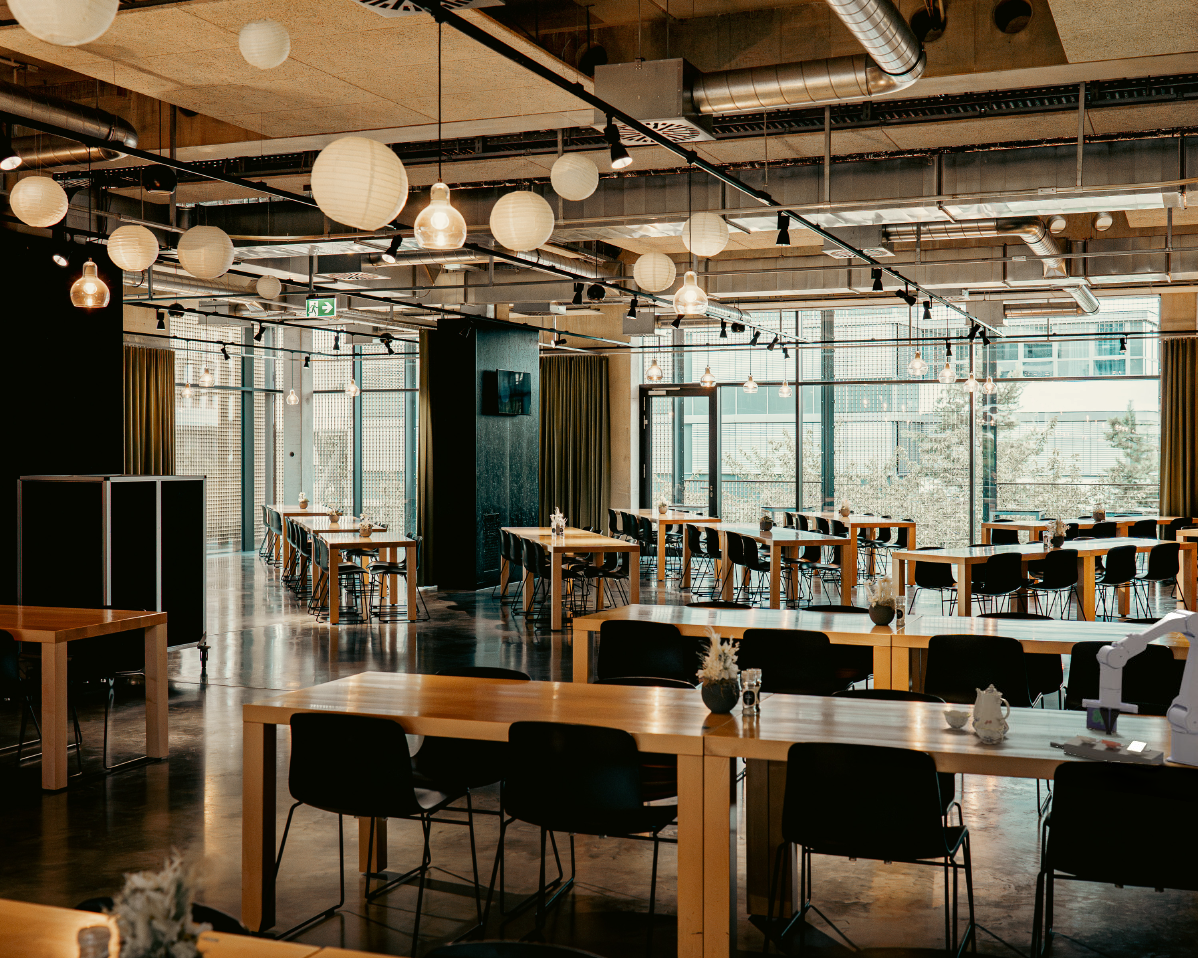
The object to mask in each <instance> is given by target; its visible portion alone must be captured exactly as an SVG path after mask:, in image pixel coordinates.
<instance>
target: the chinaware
mask: <svg viewBox="0 0 1198 958" xmlns="http://www.w3.org/2000/svg"><path fill="white" fill-rule="evenodd" d="M975 691H976V693H977V697H976V700H975V702H974V706H973V710H972V716H971V714H970V712H968V711H963V712H961V711H959V710H956V709H951V710H949V711H948V710H943V711H942V714H943V715H944V719H945V721H946V723H947V725H949V726H950V730H953V731H962V730H963V729H962V728H963V727H965V726H966V725H967V723H968V721H969V718H970V717H972V719H973V721H972V723H971V725H972V727H973V729H974V730H975V731H976V733H975V734H976V735H977V736H978V737H979V738H980V739H981V740H982V743H983V744H985V745H993V744H994V745H996V744H997V743H1002V742H1003V741H1004V737H1005V734H1007V732H1008V731H1009V730H1010V727H1009V724H1008V722H1007V721H1006V719H1008V717H1009V716H1010V713H1011V707H1010V704H1009V702H1008V701H1007V700H1006V699H1004V698H1002V695H1003V693H1002V692H1000V691H998V690H997V688H995V686H994V684H990V685H989V686H988V687H987V688H986V689H985V690H981V689H980V688H975ZM1003 702H1004V704H1005V706H1006V714H1005V716H1003V712H1002V707H1001V704H1002V703H1003ZM999 739H1001V740H1000V741H999Z"/></svg>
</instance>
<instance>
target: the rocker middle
mask: <svg viewBox="0 0 1198 958" xmlns="http://www.w3.org/2000/svg"><path fill="white" fill-rule="evenodd" d="M1101 741H1102V743H1103V744H1106V745H1105V746H1108V747H1113V748H1116V747H1117V746H1119V747H1121V744H1122V743H1120V742H1116V741H1113V740H1108V739H1101Z"/></svg>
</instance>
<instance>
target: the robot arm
mask: <svg viewBox="0 0 1198 958" xmlns="http://www.w3.org/2000/svg"><path fill="white" fill-rule="evenodd" d="M1172 632H1174V633H1180V634H1182V635H1183V636H1184V638H1185V639H1186V640H1187V641H1188V643H1189V647H1188V653H1187V657H1186V661H1185V666H1184V670H1183V675H1182V680H1181V685H1180V689H1179V695H1177V696H1176V697H1175V698H1174V699H1172V702H1171V704H1170V706H1169V708H1167V709H1168V710H1167V712H1166V719H1167V722H1168V723H1169V724H1170V728H1171V729H1170V756H1168V757H1166V758H1165V761H1168V762H1173V763H1178V764H1185V765H1189V766H1195V767H1198V612H1195V611H1191V610H1187V609H1183V608H1176V609H1174V610H1172V612H1169V613H1166V615H1165V616H1164V617H1163V618H1161V619H1160V620H1158V621H1157V622H1155V623H1154V624H1152V625H1150V626H1149V627H1148V628H1146V629H1144V630H1142V631H1141V632H1140V633H1137V632H1127V633H1126V634H1125V637H1123V638H1121V639H1119V640H1117V641H1113V642H1111V645H1103V646H1102V647H1101V648H1100V649H1099V651H1098V653H1097V654H1096V659H1097V660H1096V661H1098V663H1099V669H1100V671H1099V673H1100V674H1099V692H1098V693H1099V697H1098V698H1099V699H1086V698H1085V699H1084V698H1083V699H1082V701H1081V702H1082V704H1081V705H1082V707H1083V708H1087V707H1093V708H1100V711H1099V712H1100V714H1101V716H1102V719H1103V721H1104V725H1105V729H1106V731H1105V735H1106V736H1112V733H1113V732H1112V729H1113V726H1114V724H1115V721H1116V719H1117V720H1118V717H1119V715H1120V713H1121V712H1129V713H1133V714H1138V713H1139V712H1138V711H1139V710H1138V709H1139V706H1138V705H1136V704H1131V703H1125V702H1122V680H1123V679H1122V678H1123V667H1125V666H1126V664H1127V661H1128V660H1129V659H1132V658H1133V657H1134V656H1137V655H1138V654H1140V653H1142V652H1143V651H1145V650H1146V648H1147V644H1150V643H1151V642H1153V641H1155V640H1157V639H1159V638H1161V637H1163V636H1165V635H1167V634H1169V633H1172ZM1103 706H1104V707H1103ZM1109 709H1110V727H1109Z"/></svg>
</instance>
